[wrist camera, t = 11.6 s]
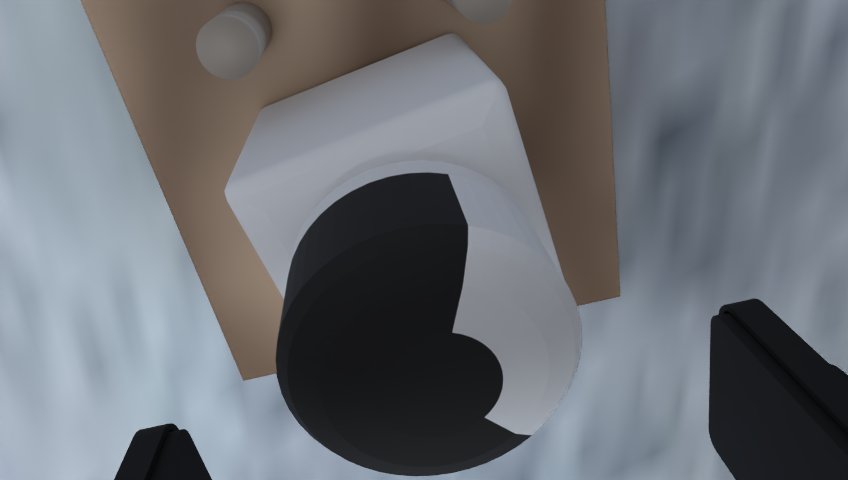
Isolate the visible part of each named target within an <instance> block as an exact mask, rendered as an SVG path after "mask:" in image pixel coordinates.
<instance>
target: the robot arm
mask: <svg viewBox="0 0 848 480" xmlns="http://www.w3.org/2000/svg"><path fill="white" fill-rule="evenodd" d="M709 434H710V438H711V441H712V444H713V446H714V448H715V450H716V451H717V453H718V454H719V456H720V457H721V459H722V460H723V462H724V463H725V465H726V466H727V467H728V469H729V470H730V472H731V473H732V475H733V476H734V478H735V479H736V480H848V375H847V374H845V373H844V372H843V371H842V370H840V369H839V368H838V367H836V366H834V365H831V364H829V363H828V362H827V361H826V360H824V359H823V358H822V357H821V356H820V355H819V354H818V353H817V352H816V351H815V350H814V349H813V348H811V347H810V346H809V345H808V344H807V343H806V342H805V341H804V340H803V339H802V338H801V337H800V336H799V335H797V334H796V333H795V332H794V331H793V330H792V329H791V328H790V327H789V326H788V325H787V324H786V323H785V322H783V321H782V320H781V319H780V318H779V317H778V316H777V315H776V314H775V313H774V312H773V311H772V310H771V309H769V308H768V307H767V306H766V305H765V304H764V303H763V302H762V301H760V300H759V299H750V300H746V301H741V302H736V303H732V304H727V305H724V306H722V307H721V308H720V310H719V315H716V316H713V317H712V319H711V337H710V389H709ZM114 480H212V479H211V477H210V475H209V473H208V471H207V469H206V467H205V465H204V463H203V461H202V459H201V457H200V454H199V452H198V450H197V448H196V446H195V444H194V442H193V440H192V438H191V436H190V434H189V433H188V431H187V430H185V429H182V430H179V429H178V428H177V426H176V425H174V424H165V425H160V426H156V427H151V428H146V429H142V430H139V431H137V432H136V434H135V435H134V437H133V439H132V441H131V443H130V446H129V448H128V450H127V452H126V455H125V457H124V459H123V461H122V463H121V466H120V468H119V470H118V472H117V474H116V477H115V479H114Z"/></svg>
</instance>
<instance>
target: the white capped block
mask: <svg viewBox="0 0 848 480" xmlns="http://www.w3.org/2000/svg"><path fill="white" fill-rule="evenodd" d="M224 192H225V196H226V199H227V202H228V204H229V205H230V207H231V209H232V211H233V212H234V214H235V216H236V217H237V219H238V221H239V223H240V224H241V226H242V228H243V230H244V231H245V233H246V235H247V236H248V238H249V240H250V242H251V243H252V245H253V247H254V249H255V250H256V252H257V254H258V256H259V257H260V259H261V261H262V262H263V264H264V266H265V268H266V269H267V271H268V273H269V275H270V276H271V278H272V280H273V281H274V283H275V285H276V287H277V288H278V290H279V292H280V294H281V295H282V297H283V299H284V303H283V309H282V315H281V321H280V327H279V333H278V339H277V348H276V370H277V378H278V382H279V386H280V389H281V393H282V395H283V397H284V399H285V402H286V404H287V406H288V408H289V410H290V411H291V413H292V414H293V416H294V417H295V418H296V420H297V421H298V423H299V424H300V425H301V426H302V427H303V428H304V429H305V430H306V431H307V432H308V433H309V434H310V435H311V436H312V437H313V438H314V439H316V440H317V441H318V442H319V443H321V444H322V445H323V446H325V447H326V448H328V449H329V450H331V451H332V452H334V453H336V454H337V455H339V456H341V457H343V458H344V459H346V460H348V461H350V462H352V463H355V464H357V465H360V466H362V467H365V468H368V469H372V470H375V471H379V472H383V473H389V474H395V475H406V476H432V475H440V474H448V473H453V472H458V471H462V470H466V469H470V468H473V467H476V466H478V465H481V464H484V463H487V462H489V461H491V460H493V459H495V458H498V457H500V456H502V455H504V454H505V453H507V452H509V451H510V450H512V449H514V448H515V447H517V446H518V445H520V444H521V443H522V442H524V441H525V440H526V439H528V438H529V437H530V436H532V435H533V434H534V433H535V432H536V431H537V430H538V429H539V428H540V427H541V426H542V425H543V424H544V423H545V422H546V421H547V419H548V418H549V417H550V416H551V414H552V413H553V412H554V411H555V409H556V408H557V407H558V405H559V404H560V402H561V401H562V399H563V397H564V396H565V394H566V392H567V391H568V389H569V387H570V385H571V383H572V380H573V378H574V376H575V373H576V371H577V367H578V363H579V359H580V355H581V345H582V330H581V320H580V316H579V312H578V308H577V304H576V302H575V300H574V298H573V295H572V293H571V291H570V289H569V287H568V285H567V284H566V282H565V280H564V277H563V274H562V270H561V267H560V264H559V260H558V257H557V254H556V251H555V247H554V244H553V241H552V237H551V234H550V231H549V228H548V224H547V221H546V218H545V214H544V211H543V208H542V204H541V201H540V198H539V195H538V191H537V188H536V185H535V181H534V178H533V175H532V172H531V168H530V165H529V162H528V158H527V155H526V152H525V148H524V145H523V142H522V139H521V135H520V132H519V129H518V125H517V122H516V119H515V116H514V112H513V109H512V106H511V102H510V99H509V96H508V92H507V89H506V87H505V86H504V84H503V83H502V81H501V80H500V79H499V78H498V77H497V76H496V75H495V74H494V73H493V72H492V71H491V70H490V69H489V67H488V66H487V65H486V64H485V63H484V62H483V61H482V60H481V59H480V58H479V57H478V56H477V55H476V54H475V53H474V52H473V50H472V49H471V48H470V47H469V46H468V45H467V44H466V43H465V42H464V41H463V40H462V39H461V38H460V37H459V36H458V35H456V34H454V33H450V34H446V35H443V36H441V37H438V38H436V39H433V40H431V41H428V42H426V43H423V44H421V45H418V46H416V47H413V48H411V49H408V50H406V51H403V52H401V53H398V54H396V55H393V56H391V57H388V58H386V59H383V60H381V61H378V62H376V63H373V64H371V65H368V66H366V67H363V68H361V69H358V70H356V71H353V72H351V73H348V74H346V75H343V76H341V77H338V78H336V79H333V80H331V81H328V82H326V83H323V84H321V85H319V86H316V87H314V88H311V89H309V90H306V91H304V92H301V93H299V94H296V95H294V96H291V97H289V98H286V99H284V100H281V101H279V102H276V103H274V104H271V105H269V106H266V107H264V108H263V109H262V110H260V112H259V114H258V116H257V118H256V121H255V123H254V125H253V127H252V129H251V132H250V134H249V136H248V138H247V141H246V143H245V145H244V147H243V149H242V152H241V154H240V156H239V158H238V160H237V163H236V165H235V167H234V169H233V171H232V174H231V176H230V178H229V180H228V182H227V185H226V188H225V191H224Z"/></svg>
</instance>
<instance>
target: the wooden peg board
mask: <svg viewBox="0 0 848 480" xmlns="http://www.w3.org/2000/svg"><path fill="white" fill-rule="evenodd" d="M81 2H82V5H83V7H84V9H85V12H86V14H87V16H88V19H89V21H90V23H91V26H92V28H93V30H94V33H95V35H96V37H97V40H98V42H99V44H100V47H101V49H102V51H103V54H104V56H105V58H106V61H107V63H108V65H109V68H110V70H111V72H112V75H113V77H114V79H115V82H116V84H117V86H118V89H119V91H120V93H121V96H122V98H123V100H124V103H125V105H126V107H127V110H128V112H129V114H130V117H131V119H132V121H133V124H134V126H135V129H136V131H137V133H138V136H139V138H140V140H141V143H142V145H143V147H144V150H145V152H146V154H147V157H148V159H149V161H150V164H151V166H152V168H153V171H154V173H155V175H156V178H157V180H158V182H159V185H160V187H161V189H162V192H163V194H164V196H165V199H166V201H167V203H168V206H169V208H170V210H171V213H172V215H173V217H174V220H175V222H176V224H177V227H178V229H179V231H180V234H181V236H182V238H183V241H184V243H185V245H186V248H187V250H188V252H189V255H190V257H191V259H192V262H193V264H194V266H195V269H196V271H197V273H198V276H199V278H200V280H201V283H202V285H203V287H204V290H205V292H206V294H207V297H208V299H209V301H210V304H211V306H212V308H213V311H214V313H215V315H216V318H217V320H218V322H219V325H220V327H221V329H222V332H223V334H224V336H225V339H226V341H227V343H228V346H229V348H230V350H231V353H232V355H233V357H234V360H235V362H236V364H237V367H238V369H239V371H240V374H241V376H242V379H243V381H244V380H249V379H253V378H258V377H262V376H267V375H271V374H276V373H277V370H276V348H277V339H278V333H279V327H280V321H281V315H282V309H283V303H284V299H283V297H282V295H281V294H280V292H279V290H278V288H277V287H276V285H275V283H274V281H273V280H272V278H271V276H270V275H269V273H268V271H267V269H266V268H265V266H264V264H263V262H262V261H261V259H260V257H259V256H258V254H257V252H256V250H255V249H254V247H253V245H252V243H251V242H250V240H249V238H248V236H247V235H246V233H245V231H244V230H243V228H242V226H241V224H240V223H239V221H238V219H237V217H236V216H235V214H234V212H233V211H232V209H231V207H230V205H229V204H228V202H227V199H226V196H225V192H224V191H225V188H226V185H227V182H228V180H229V178H230V176H231V174H232V171H233V169H234V167H235V165H236V163H237V160H238V158H239V156H240V154H241V152H242V149H243V147H244V145H245V143H246V141H247V138H248V136H249V134H250V132H251V129H252V127H253V125H254V123H255V121H256V118H257V116H258V114H259V112H260V110H262V109H263V108H264V107H266V106H269V105H271V104H274V103H276V102H279V101H281V100H284V99H286V98H289V97H291V96H294V95H296V94H299V93H301V92H304V91H306V90H309V89H311V88H314V87H316V86H319V85H321V84H323V83H326V82H328V81H331V80H333V79H336V78H338V77H341V76H343V75H346V74H348V73H351V72H353V71H356V70H358V69H361V68H363V67H366V66H368V65H371V64H373V63H376V62H378V61H381V60H383V59H386V58H388V57H391V56H393V55H396V54H398V53H401V52H403V51H406V50H408V49H411V48H413V47H416V46H418V45H421V44H423V43H426V42H428V41H431V40H433V39H436V38H438V37H441V36H443V35H446V34H450V33H454V34H456V35H458V36H459V37H460V38H461V39H462V40H463V41H464V42H465V43H466V44H467V45H468V46H469V47H470V48H471V49H472V50H473V52H474V53H475V54H476V55H477V56H478V57H479V58H480V59H481V60H482V61H483V62H484V63H485V64H486V65H487V66H488V67H489V69H490V70H491V71H492V72H493V73H494V74H495V75H496V76H497V77H498V78H499V79H500V80H501V81H502V83H503V84H504V86H505V87H506V89H507V92H508V96H509V99H510V102H511V106H512V109H513V112H514V116H515V119H516V122H517V125H518V129H519V132H520V135H521V139H522V142H523V145H524V148H525V152H526V155H527V158H528V162H529V165H530V168H531V172H532V175H533V178H534V181H535V185H536V188H537V191H538V195H539V198H540V201H541V204H542V208H543V211H544V214H545V218H546V221H547V224H548V228H549V231H550V234H551V237H552V241H553V244H554V247H555V251H556V254H557V257H558V260H559V264H560V267H561V270H562V274H563V277H564V280H565V282H566V284H567V285H568V287H569V289H570V291H571V293H572V295H573V298H574V300H575V302H576V304H577V306H579V305H583V304H588V303H592V302H597V301H601V300H606V299H610V298H615V297H619V296H620V282H619V262H618V243H617V223H616V203H615V184H614V164H613V145H612V125H611V106H610V86H609V66H608V47H607V27H606V8H605V0H81Z"/></svg>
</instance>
